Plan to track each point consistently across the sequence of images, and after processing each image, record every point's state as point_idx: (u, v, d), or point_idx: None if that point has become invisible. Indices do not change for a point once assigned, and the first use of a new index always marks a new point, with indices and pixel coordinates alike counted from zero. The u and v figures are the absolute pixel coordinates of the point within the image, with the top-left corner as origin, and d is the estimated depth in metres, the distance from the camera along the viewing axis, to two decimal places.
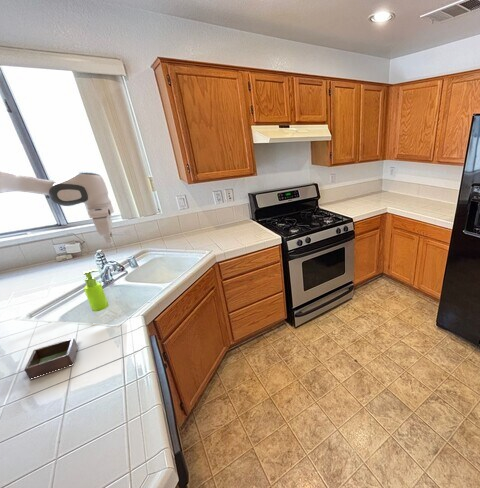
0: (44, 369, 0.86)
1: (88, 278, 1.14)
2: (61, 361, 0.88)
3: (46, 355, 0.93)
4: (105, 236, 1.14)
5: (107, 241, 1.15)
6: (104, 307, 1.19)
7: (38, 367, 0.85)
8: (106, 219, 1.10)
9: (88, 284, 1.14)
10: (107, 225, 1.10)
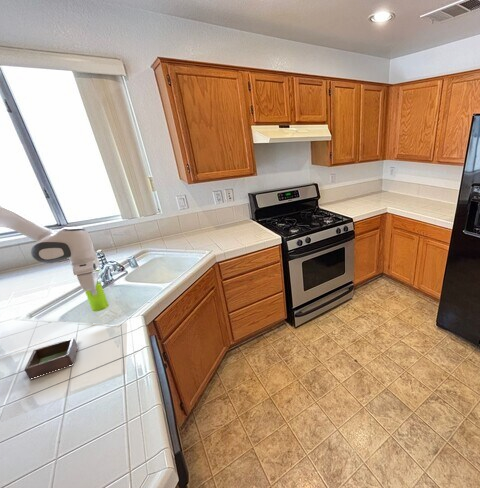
0: (44, 369, 0.86)
1: None
2: (61, 361, 0.88)
3: (46, 355, 0.93)
4: (91, 289, 1.12)
5: (93, 293, 1.14)
6: (104, 307, 1.19)
7: (38, 367, 0.85)
8: (91, 275, 1.08)
9: None
10: (92, 281, 1.08)
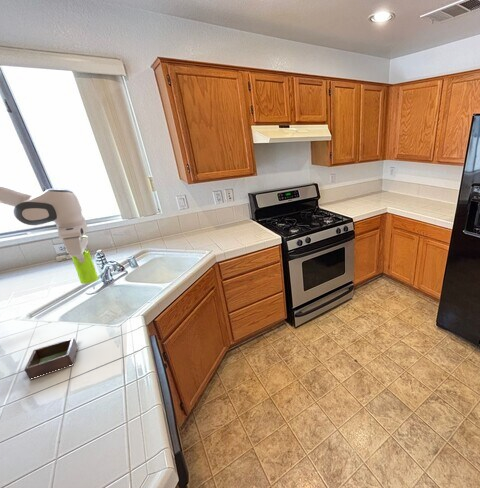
0: (44, 369, 0.86)
1: None
2: (61, 361, 0.88)
3: (46, 355, 0.93)
4: (78, 256, 1.07)
5: (80, 261, 1.08)
6: (92, 277, 1.14)
7: (38, 367, 0.85)
8: (78, 239, 1.02)
9: None
10: (79, 246, 1.03)
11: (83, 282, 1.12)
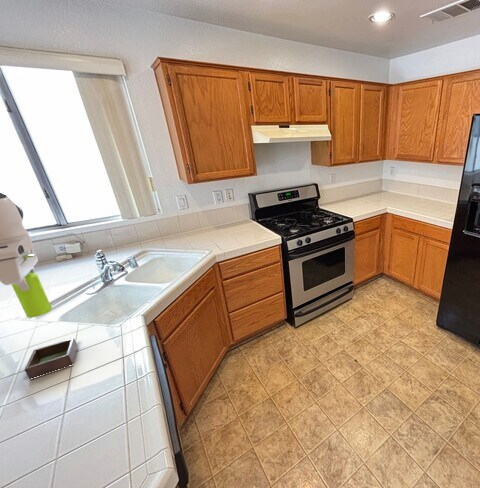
0: (44, 369, 0.86)
1: None
2: (61, 361, 0.88)
3: (46, 355, 0.93)
4: (18, 283, 0.79)
5: (22, 289, 0.81)
6: (42, 308, 0.86)
7: (38, 367, 0.85)
8: (14, 261, 0.75)
9: None
10: (16, 270, 0.75)
11: (29, 315, 0.85)
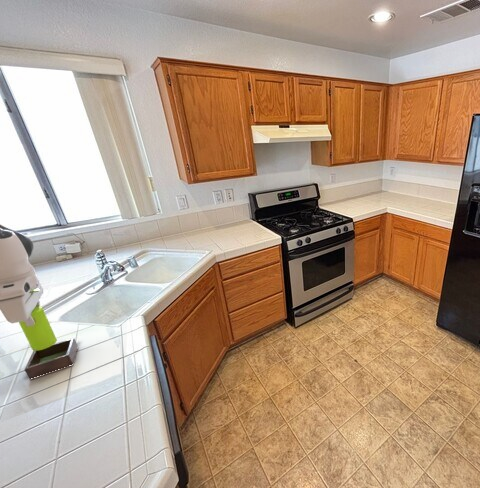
0: (44, 369, 0.86)
1: None
2: (61, 361, 0.88)
3: (46, 355, 0.93)
4: None
5: (28, 324, 0.82)
6: (47, 341, 0.87)
7: (38, 367, 0.85)
8: (20, 300, 0.75)
9: None
10: (22, 308, 0.76)
11: (35, 349, 0.86)
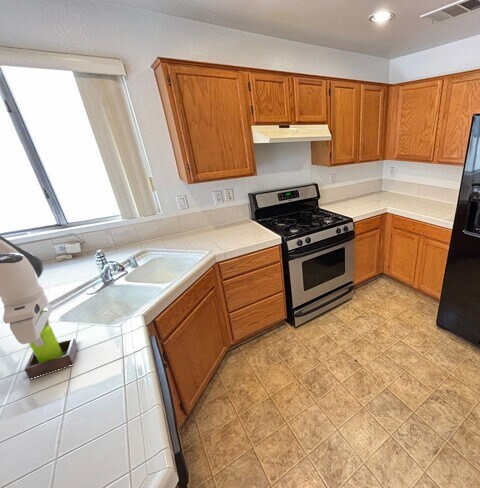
0: (44, 369, 0.86)
1: None
2: (61, 361, 0.88)
3: None
4: None
5: (37, 345, 0.84)
6: None
7: (38, 367, 0.85)
8: (31, 322, 0.78)
9: None
10: (32, 330, 0.78)
11: None
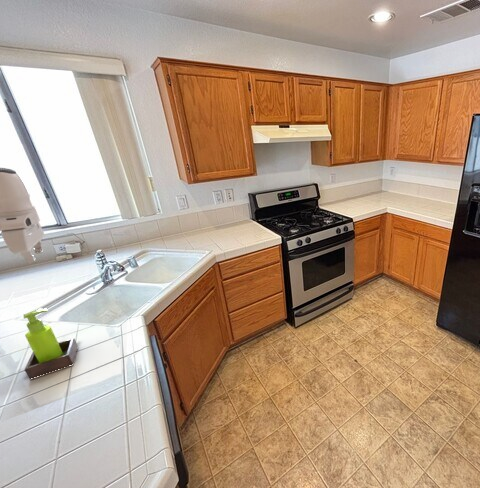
0: (44, 369, 0.86)
1: (31, 322, 0.84)
2: (61, 361, 0.88)
3: None
4: (24, 254, 0.85)
5: (28, 260, 0.87)
6: None
7: (38, 367, 0.85)
8: (22, 232, 0.81)
9: (31, 330, 0.84)
10: (23, 240, 0.82)
11: None
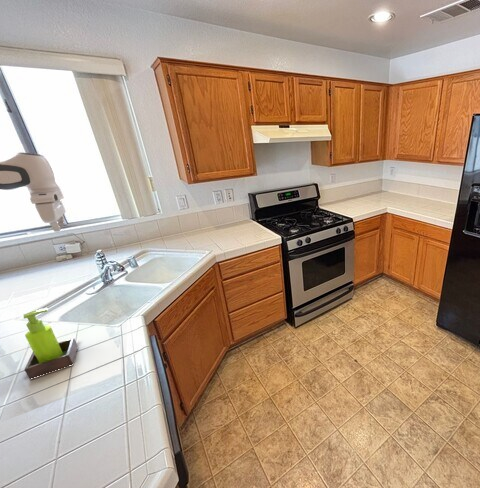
0: (44, 369, 0.86)
1: (31, 322, 0.84)
2: (61, 361, 0.88)
3: None
4: (52, 224, 1.03)
5: (55, 230, 1.05)
6: None
7: (38, 367, 0.85)
8: (51, 205, 1.00)
9: (31, 330, 0.84)
10: (52, 211, 1.00)
11: None
